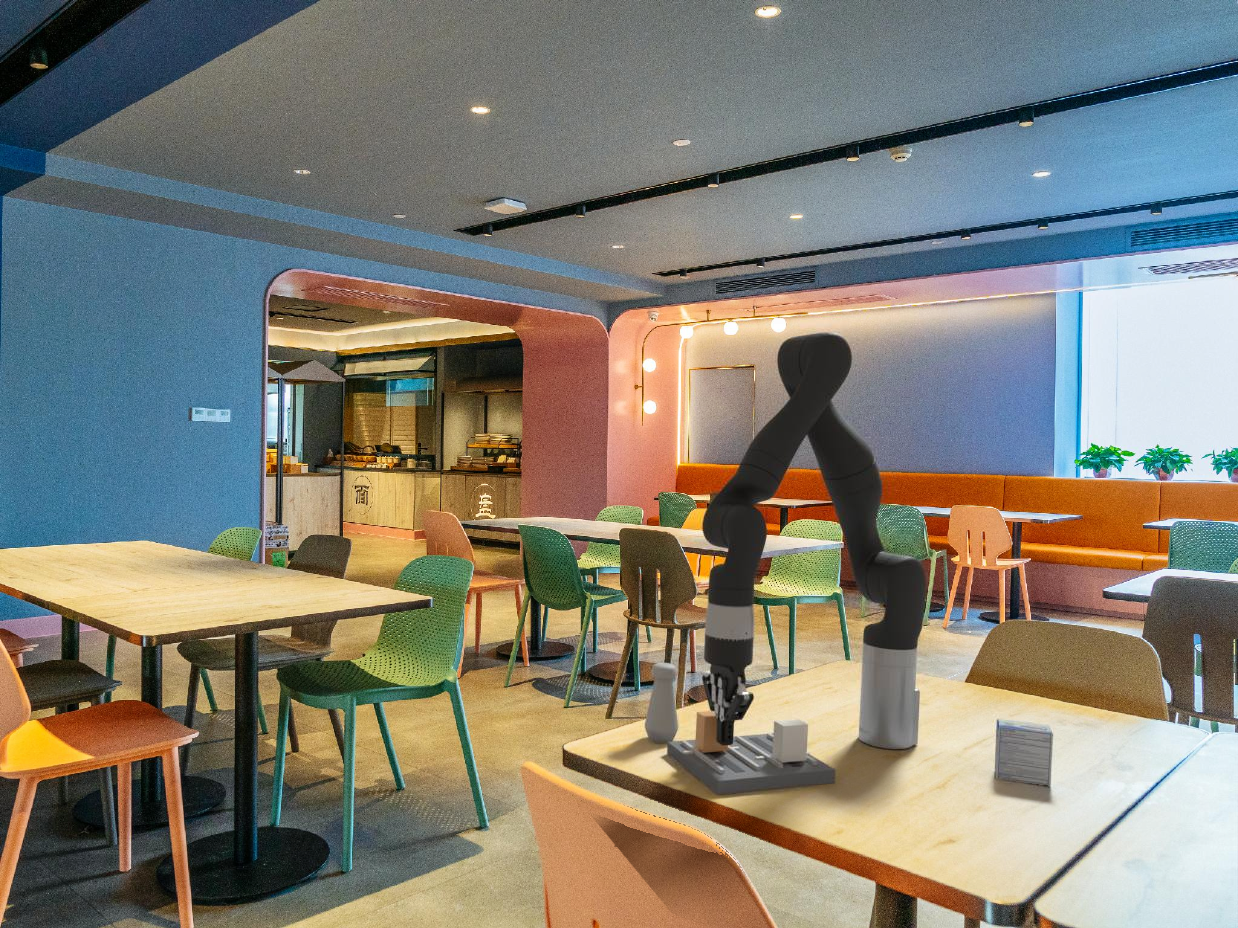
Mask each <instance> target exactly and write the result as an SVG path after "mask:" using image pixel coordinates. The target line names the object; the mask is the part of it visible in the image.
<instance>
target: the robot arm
mask: <svg viewBox="0 0 1238 928" xmlns="http://www.w3.org/2000/svg"><path fill="white" fill-rule="evenodd" d="M852 355H853V354H852V350H851V347H850V344H849V342H848V341H847V340H846V338H845V337H843V336H842V335H841V334H839V333H835V332H831V331H830V332H829V331H828V332H827V331H826V332H825V331H824V332H817V333H810V334H805V335H804V334H803V335H798V336H792V337H790V338H787V339H786V340H784V341H783V342H782V343H781V345H780V347H779V349H778V351H777V357H776V358H777V359H776V360H777V361H776V363H777V371H778V373H779V376H780V380H781V382H782V384H783V386H784V390H785V392H787V395H788V397H789V399H788V400H787V402H786V403H785V404H784V406H782V407H781V409H780V410H779V411H778V412H777V413H776V414H775V415H774V416H773V417H772V418H771V419H770V420H769V421H768V422H767V423H766V424H764V426H763V427H762V428H761V429H760V430H759V431H758V432H757V434H756V435H755V437H754V438H753V440H752V441H751V443H750V444H749V445H748V448H747V449H746V452H745V454H744V456H743V458H742V460H741V462H740V464H739V466H738V468H737V470H736V471H735V474H734V475H733V476H732V477H731V478H730V479H729V480H728V482H726V484H724V486H723V487H722V488H721V489H720V491H719V492H718V493H717V494H716V495H715V497H714V498H713V499H712V501H711V502H709V505H708V506H707V509H706V510H705V513H704V514H703V519H702V523H701V525H702V533H703V538H704V539H705V540H706V541H707V542H708V543H709V544H710V545H712V546H715V547H717V548H723V549H727V552H726V555H725V559H724V562H723V563H719V564H715V565H713V567H712V568H711V569H710V571H709V577H708V578H709V579H708V590H707V591H708V596H707V601H708V602H707V608H706V614H705V625H704V627H705V628H704V629H705V630H704V646H703V647H704V649H703V650H704V651H703V659H704V661H705V662H706V663H707V664H709V665H710V666H709V673H708V674H704V675H702V677H701V679H702V684H703V688H704V692H705V697H706V699H707V703H708V707H709V711H714V712H715V718H717V736H716V741H717V742H718V743H719V744H721V745H722V746H725V745H732V744H733V737H734V733H735V732H734V730H735V722H736V721H742V720H743V719H744V717H745V715H746V713H747V712H748V711H749V708H750V706H751V704H752V703H753V701H754V699H755V695H754V693H753V692H751V691H749V692H748V690H747V688H746V686H745V685H746V682H747V678H746V674H745V673H746V672H745V670H746V668H747V667H749V666H751V665H752V663H753V660H754V635H755V612H754V609H755V608H754V600H755V599H754V597H755V579H756V576H757V575H756V574H757V573H758V570H759V566H760V563H761V559H762V555H763V552H764V550H765V546H766V542H767V535H768V528H767V523H766V518H765V517H764V514H763V513H762V512H761V510H760V509H758V508H757V507H756V505H757V504H760V503H762V502H766V501H769V500H771V499H772V498H773V497H774V496H775V495H776V493H777V491H778V490H779V487H780V486H781V483H782V482H783V479H784V477H785V475H786V474H787V471H788V469H789V467H790V465H791V462H792V460H793V458H795V455H796V453H797V451H798V449H799V448H800V446H801V444H802V443H803V442H804V439H806V437H807V438H808V442H809V444H810V446H811V449H812V451H813V454H814V456H815V459H816V461H817V465H818V467H819V471H820V474H821V477H822V479H823V483H824V485H825V488H826V490H827V494H828V495H829V498H830V501H831V502H832V505H833V509H834V510H835V513H836V514H835V515H836V517H837V521H838V523H839V527H840V529H841V531H842V534H843V537H844V540H845V544H846V549H847V553H848V556H849V557H848V558H849V561H850V566H851V569H852V573H853V577H854V580H855V583H856V586H857V590H858V591H859V593H860V595H861V596H863V598H864V599H866V600H867V601H869V602H871V603H874V604H879V605H885V607H884V608H885V609H884V616H883V618H882V619H881V620H880V621H878V622H875V623H874V622H873V623H870V624H869V623H868V624H867V625H866V626H865V627H864V629H863V634H862V635H863V636H862V654H861V655H862V656H861V657H862V658H861V659H862V660H861V678H860V679H861V681H860V698H859V699H860V700H859V702H860V703H859V718H858V719H859V720H858V724H859V725H858V739H859V740H860V741H861V742H863V743H865V744H866V745H869V746H872V747H877V748H881V749H887V750H888V749H889V750H905V749H909V748H911V747H912V746H915V745H918V740H919V739H918V738H919V723H920V721H919V720H920V702H921V701H920V700H921V699H920V698H921V697H920V696H921V691H920V690H919V689H917V688H916V685H917V665H918V664H917V663H918V662H917V661H918V645H919V644H918V641H919V637H920V634H921V632H922V630H923V625H924V614H925V604H926V598H927V597H926V596H927V595H926V594H927V574H926V571H925V567H924V565H923V563H922V562H921V561H920V560H919V559H917V558H916V557H914V556H910V555H903V554H897V553H891V552H888V551H886V549H885V547H884V545H883V542H882V540H881V537H880V535H879V531H878V530H879V529H878V526H877V519H878V514H879V510H880V509H879V508H880V505H881V502H882V497H883V489H884V487H883V481H882V477H881V474H880V470H879V468H878V465H877V463H876V459H875V456H874V454H873V452H872V449H871V448H870V447H869V444H868V443H867V442H866V441H865V439H864V438H863V437H862V436H861V435H860V434H859V433H858V431H857V430H856V429H855V427H853V426H852V425H851V424H850V423H849V422H848V421H847V420H846V419H845V418H844V416H843V415H842V414H841V413H840V412H839V411H838V410H837V407H836V406H835V404H834V403H833V401H832V400H833V398H834V396H836V394H837V393H838V391H839V390H840V388H841V387H842V386H843V384H844V382H845V380H846V379H847V377H848V375H849V373H850V371H851V368H852V364H853V356H852Z"/></svg>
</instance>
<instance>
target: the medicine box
mask: <svg viewBox="0 0 1238 928" xmlns="http://www.w3.org/2000/svg"><path fill="white" fill-rule="evenodd" d="M995 725H996V729H995V749H994V750H995V753H994V754H995V755H994V772H995V779H996V780H1002V781H1003V780H1004V781H1008V780H1009V781H1010V782H1017V783H1024V784H1030V783H1032V784H1031V785H1036V784H1039V786H1043V785H1049V786H1048V787H1051V786H1052V785H1051V784H1052V765H1053V745H1054V744H1053V743H1054V742H1053V741H1054V732H1053V730H1052V729H1051V727H1050V725H1048V724H1043V723H1035V722H1031V721H1030V722H1028V721H1021V720H1020V721H1019V720H1013V719H1012V720H1011V719H1004V718H1003V719H1002V718H997V719H996V724H995ZM1009 781H1008V782H1009Z"/></svg>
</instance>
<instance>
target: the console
mask: <svg viewBox="0 0 1238 928" xmlns="http://www.w3.org/2000/svg"><path fill="white" fill-rule="evenodd" d="M773 734H774V732H771V733H770V732H768V733H761V734H748V735H735V736H733V744H732V745H728V751H716V752H705V753H703V752H701V751H700V750H699V749H697V748H696V747H695V741H696V739H686V740H685V739H680V740H673V741H670V742H668V743H666V744H667V747H666V750H667V751H666V755H667V756H669V757H670V758H671V759H673V760H674V761H675V762H677V764H679V765H680V766H681V767H682V768H683V769H685V770H686V771H688V772H689V773H690V774H691V775H693V777H695V779H696V778H697V780H699V781H700V782H701V783H702V784H703V785H705V786H706V787H708V789H710V790H711V791H712V792H714V793H715V794H716V795H717V796H719V795H730V794H739V793H740V794H741V793H749V792H757V791H767V790H776V789H777V790H778V789H787V788H794V787H804V786H806V787H807V786H814V785H815V786H817V785H825V784H834V783H836V769H835V768H833V767H832V766H831V765H828V764H827V763H825V762H824V761H822V760H820V759H819V758H817V757H815V756H814V755H812V754H810V752H808V751H807V759H806V760H805V761H794V762H783V763H782V762H780V761H779V760H777V759H775V758H774V757H772V755H773Z"/></svg>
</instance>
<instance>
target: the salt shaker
mask: <svg viewBox="0 0 1238 928" xmlns="http://www.w3.org/2000/svg"><path fill="white" fill-rule="evenodd" d="M677 672H678V670H677V666H675V665H674V664H672V663H670V662H657V663H655V664H654V665H653V666H651V677H652V678H654V679H653V680H654V681H653V685H652V688H651V689H652V690H651V694H650V697H649V698H650V700H649V704H648V708H647V712H646V716H645V722H644V729H645V732H646V734H647V737H648V740H649V741H650V742H653V743H654V744H655V743H656V744H668V742H670V741H674V739H675V737H676V735H677V733H678V731H679V726H680V725H679V718H678V713H677V705H676V698H675V690H674V684H673V683H674V682H673V680H675V679H676V677H677Z"/></svg>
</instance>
